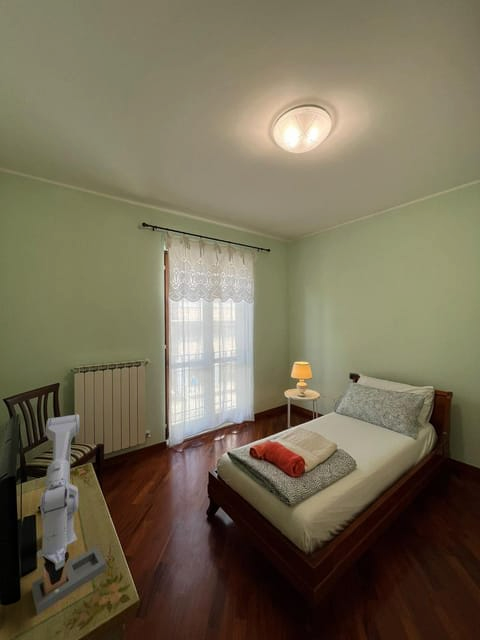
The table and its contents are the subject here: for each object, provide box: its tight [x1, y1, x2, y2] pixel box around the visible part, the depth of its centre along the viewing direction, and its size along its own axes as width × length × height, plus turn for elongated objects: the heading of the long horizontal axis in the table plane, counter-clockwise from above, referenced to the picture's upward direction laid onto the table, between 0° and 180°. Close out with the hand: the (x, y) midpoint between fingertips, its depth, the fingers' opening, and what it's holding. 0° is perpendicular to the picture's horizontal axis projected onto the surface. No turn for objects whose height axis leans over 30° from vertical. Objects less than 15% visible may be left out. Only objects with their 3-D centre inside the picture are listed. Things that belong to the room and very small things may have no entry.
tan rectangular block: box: [43, 561, 68, 595], centre depth 73 cm, size 4×5×7 cm
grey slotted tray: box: [31, 545, 107, 616], centre depth 76 cm, size 9×17×3 cm, turn 136°
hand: (54, 577), depth 73 cm, fingers closed on tan rectangular block, 4 cm apart
